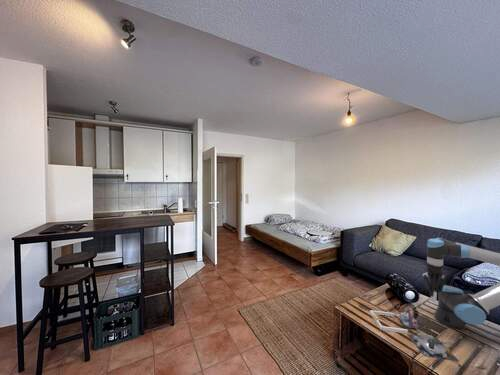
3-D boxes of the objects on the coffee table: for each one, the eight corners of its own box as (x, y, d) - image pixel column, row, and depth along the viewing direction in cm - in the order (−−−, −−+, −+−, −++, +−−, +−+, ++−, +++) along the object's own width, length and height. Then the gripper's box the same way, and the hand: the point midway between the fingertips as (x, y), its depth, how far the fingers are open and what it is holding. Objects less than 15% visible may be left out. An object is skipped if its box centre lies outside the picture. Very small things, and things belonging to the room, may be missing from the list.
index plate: (437, 339, 119) (437, 337, 119) (459, 362, 104) (459, 361, 104) (406, 335, 122) (406, 333, 122) (424, 357, 106) (424, 355, 106)
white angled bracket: (393, 316, 139) (393, 311, 139) (408, 334, 122) (408, 328, 122) (369, 313, 142) (369, 308, 142) (380, 330, 125) (380, 325, 125)
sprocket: (414, 332, 124) (414, 322, 123) (449, 345, 113) (449, 335, 113) (412, 346, 112) (413, 336, 112) (451, 363, 102) (451, 351, 102)
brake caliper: (425, 330, 123) (412, 311, 126) (408, 337, 126) (395, 319, 128) (417, 318, 134) (404, 301, 136) (401, 325, 137) (389, 308, 139)
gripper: (442, 262, 129) (440, 299, 130) (419, 261, 131) (417, 296, 132) (451, 267, 122) (450, 306, 122) (427, 265, 124) (425, 303, 125)
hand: (433, 301), depth 127 cm, fingers closed
